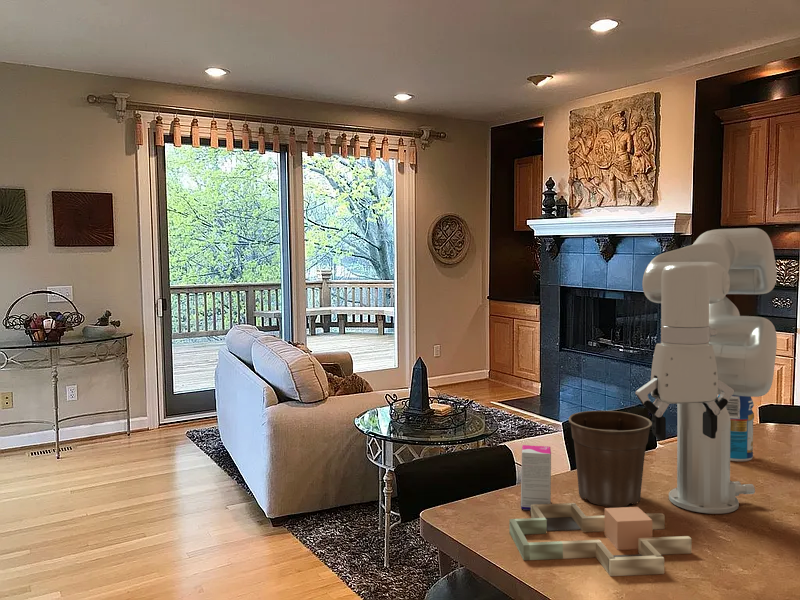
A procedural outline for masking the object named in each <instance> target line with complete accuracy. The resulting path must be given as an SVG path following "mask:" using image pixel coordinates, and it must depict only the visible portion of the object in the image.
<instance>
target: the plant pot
mask: <svg viewBox="0 0 800 600" xmlns="http://www.w3.org/2000/svg"><path fill="white" fill-rule="evenodd" d="M568 423H569V424H570V430H571V438H572V439H573V445H574V453H575V456H574V457H575V464H576V473H577V474H576V476H577V486H578V487H577V488H578V489H577V490H578V495H579V497H580V498H581V499H583V500H588V501H589V503H590V504H594V505H598V506H602V507H607V508H621V507H628V505H630V504H632V505H636V504H638V503H639V502H640V500H641V497H642V485H643V475H644V464H645V457H646V454H645V453H646V447H647V444H648V443H649V435H650V429H652V420H650V419H649V418H647V417H645V416H642V415H640V414H639V415H638V414H635V413H631V412H625V411H617V410H586V411H580V412H579V411H578V412H575V413H572V414H570V416H568Z"/></svg>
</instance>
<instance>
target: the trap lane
mask: <svg viewBox="0 0 800 600" xmlns="http://www.w3.org/2000/svg"><path fill="white" fill-rule="evenodd" d="M645 514H646V515H647V516H648V517H650V518H651V519H652V530H665V528H666V527H665V524H666V523H665V514H664V513H662V512H661V513H660V512H657V513H655V512H654V513H645ZM508 520H509V524H508V525H509V526H508V527H509V529H508V530H509V535H510V537H511V538H512V540H513V542H514V544H515V547H516V548H517V550H518V551H519V555H520V556H521V558H522V560H523V561H535V560H536V561H539V560H561V559H562V560H563V559H567V560H568V559H582V558H583V559H584V558H585V559H586V558H587V559H588V558H596V559H597V560H598V562H599V563H600V565H601V566H602V567H603V569H605V571H606V572H607V574H608V575H609V576H610V577H620V576H621V577H622V576H643V575H645V576H647V575H664V574H665V557H664V556H663V555H681V554H682V555H683V554H692V538H691V537H690V536H689V535H682V536H661V537H660V536H658V537H655V536H654V537H653V536H652V538H638V549H637V550H638V551H637V552H638V553H636V554H615V555H614V554H613V553H612V552H611V551H610V550H609V549H608V548H607V546H606V545H605V544H604V543H603V542H602V541H601V540H600V539H584V540H583V539H582V540H559V541H557V540H555V541H554V540H553V541H535V542H533V541H531V542H529V541H528V539H527V538H526V536H525V535H540V534H541V535H542V534H545V535H547V534H548V533H547V532H557V531H558V532H561V531H562V532H563V531H581V532H582V533H593V532H594V533H595V532H597V533H598V532H605V517H604V515H602V514H601V515H586V514H585V513H584V512H583V510H582V509H581V508H580V507H579V506H578V504H576V502H566V503H565V502H562V503H551V504H534V505H531V510H530V517H529V518H527V517H525V518H524V517H523V518H509V519H508Z"/></svg>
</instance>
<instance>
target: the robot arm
mask: <svg viewBox="0 0 800 600" xmlns="http://www.w3.org/2000/svg"><path fill="white" fill-rule="evenodd" d="M777 274H778V273H777V265H776V257H775V253H774V246H773V243H772V241H771V239H770V236H769V235H768V233H767V232H766V231H764V230H763V229H761V228H758V227H747V228H746V227H745V228H743V227H742V228H741V227H740V228H718V229H711V230H707V231H705V232H703V233H701V234H700V235H699V236H698V237H697V238H696V240H694V241H693V244H691V245H687V246H684V247H680V248H677V249H676V248H675V249H674V250H669V251H665V252H663V253H660V254H657V255H656V256H654V258H652V259H651V261H650V262H649V263H648V264H647V266H646V268H645V270H644V273H643V277H642V291H643V294H644V296H645V297H646V298H647V300H649V301H650V302H652V303H655V304H660V305H661V309H660V312H661V319H660V320H661V321H660V322H661V325H660V327H661V329H660V332H661V333H660V336H661V337H660V338H661V339H660V343H656V344H655V346H654V347H655V348H654V351H653V357H652V363H651V371H650V372H651V373H650V374H651V375H650V380H649V381H648V382H647V383H645V384H643V385H642V386H641V387H639V388H638V389H637V390H635V396H636V397H637V398H638V400H639V401H640V403H641V405H642V406H643V407H644V408H645V410H647V411H648V412H649V413H650V414H651V422H652V426H651V432H652V434H653V435H654V437H655V438H657V439H658V440H660V441H665V440H666V435H667V434H666V433H667V426H666V423H667V420H666V417H665V416H664V413H665V412H666V410H667V409H668V407H669V406H670V404H671V405H672V404H674V405H675V404H676V405H677V407H676V408H677V409H676V410H677V411H676V412H677V413H676V414H677V418H676V419H677V423H676V424H677V428H676V429H677V431H676V433H677V439H676V440H677V441H676V443H677V445H676V446H677V447H676V451H677V456H676V457H677V458H676V460H677V461H676V462H677V463H676V464H677V465H676V466H677V467H676V470H677V471H676V474H677V475H676V479H677V480H676V481H677V482H676V487H674V488H672V489H671V490H670V491H669V492H668V499H669V501H670V502H671V503H672V504H673V505H674V506H677V507H679V508H680V509H681V508H682V509H685V510H687V511H691V512H696V513H700V514H701V513H702V514H711V515H714V514H715V515H717V514H719V515H720V514H722V515H723V514H729V513H732V512H735V511H736V510H738V509H739V507H740V506H739V503H740V501H739V499H738V497H739V496H740V495H755V493H756V488H755V485H754V484H753V483H746V484H745V483H743V484H742V483H741V482H740V481H739V480H738V481H732V480H731V461H730V427H731V421H730V415H729V413H728V411H727V409H726V407H725V406H726V405H727V404H728V400H729V399H730V398H731V396H732V395H735V396H747V397H751V398H752V397H753V398H756V397H757V398H759V397H764V396H766V395H767V394H768V393H769V391H770V390H771V388H772V385H773V381H774V375H775V365H776V358H777V357H776V356H777V349H778V348H777V346H778V345H777V344H778V338H777V332H776V331H777V330H776V327H775V325H774V324H773V322H772V321H770V319H768V318H766V317H762V316H755V315H754V316H751V315H750V316H749V315H741V314H740V311H739V309H738V307H737V306H736V305H735V304H734V303H733V302H732V301H731V300H730V299H729V298H728V297H727V296H726V295H764V294H765V295H766V294H768V293H770V292H771V291H773V290H774V288H775V285H776V284H777V277H778V276H777ZM649 394H650V396H651V397H652V398H654V399H655V400H654V401H653V402H652V401H651V399H650V398H649ZM718 395H720V396H719V397H718Z"/></svg>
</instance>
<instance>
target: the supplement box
mask: <svg viewBox="0 0 800 600" xmlns="http://www.w3.org/2000/svg"><path fill="white" fill-rule="evenodd" d="M520 479H521V481H520V483H521V485H520V510H521V509H523V510H522V511H531V505H534V504H552V502H551V498H552V497H551V496H552V493H551V492H552V490H551V489H552V450H551V446H547V445H546V446H545V445H529V444H528V445H527V444H523V445H522V446H521V478H520Z"/></svg>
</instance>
